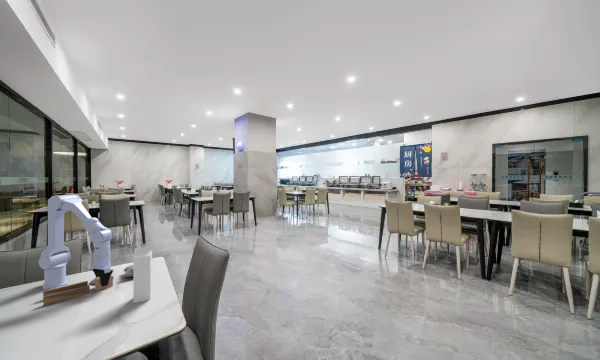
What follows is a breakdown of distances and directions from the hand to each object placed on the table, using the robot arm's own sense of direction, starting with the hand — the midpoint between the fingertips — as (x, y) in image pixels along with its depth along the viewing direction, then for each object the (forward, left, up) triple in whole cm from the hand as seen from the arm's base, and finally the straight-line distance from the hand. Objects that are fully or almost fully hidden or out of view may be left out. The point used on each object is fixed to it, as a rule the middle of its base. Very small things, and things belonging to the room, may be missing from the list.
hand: (102, 284), depth 112 cm
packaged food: (-8, +12, -3) cm, 15 cm away
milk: (+26, +10, -2) cm, 28 cm away
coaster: (-9, +1, -1) cm, 9 cm away
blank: (0, +1, -2) cm, 2 cm away
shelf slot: (0, -12, -1) cm, 12 cm away
